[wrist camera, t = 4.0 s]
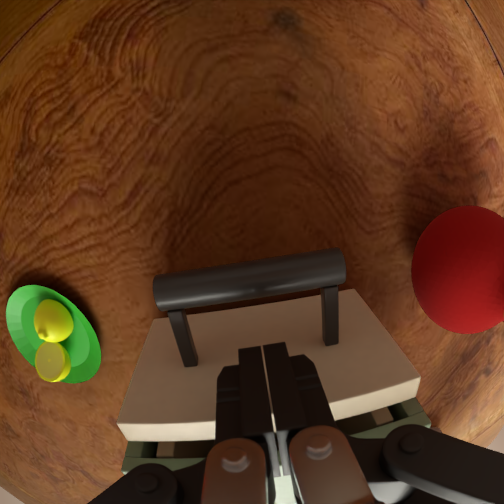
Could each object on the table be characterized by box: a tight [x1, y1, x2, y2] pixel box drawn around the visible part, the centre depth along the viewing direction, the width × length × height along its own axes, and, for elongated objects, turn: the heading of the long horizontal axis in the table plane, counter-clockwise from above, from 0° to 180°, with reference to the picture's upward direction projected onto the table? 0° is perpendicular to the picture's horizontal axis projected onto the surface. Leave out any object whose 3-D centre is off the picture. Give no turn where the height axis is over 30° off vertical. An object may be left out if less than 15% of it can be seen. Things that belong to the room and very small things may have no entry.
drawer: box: [117, 247, 421, 459], centre depth 15 cm, size 19×11×8 cm, turn 8°
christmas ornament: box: [411, 205, 504, 334], centre depth 13 cm, size 7×7×10 cm
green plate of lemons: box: [6, 285, 101, 383], centre depth 17 cm, size 8×8×3 cm
